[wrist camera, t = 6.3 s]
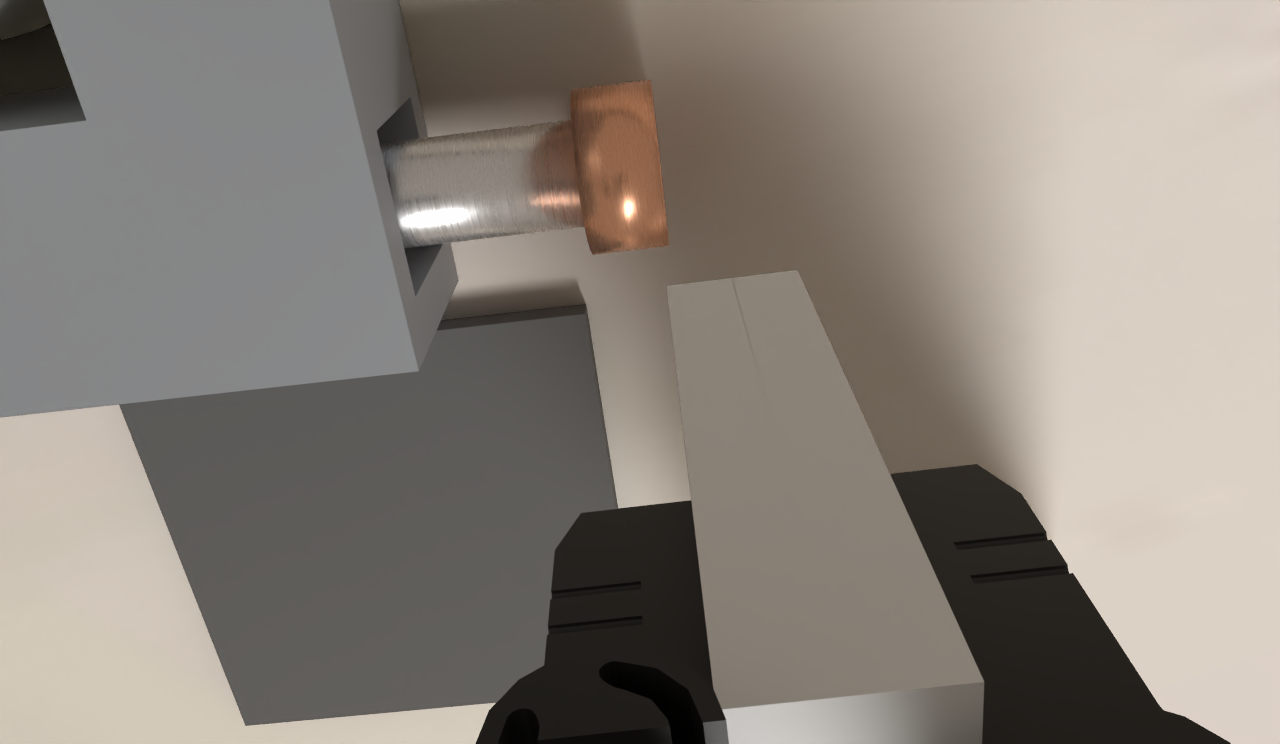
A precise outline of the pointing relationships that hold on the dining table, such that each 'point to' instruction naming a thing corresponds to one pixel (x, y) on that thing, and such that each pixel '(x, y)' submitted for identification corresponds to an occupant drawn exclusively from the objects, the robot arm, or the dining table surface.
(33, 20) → the cylinder
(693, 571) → the robot arm
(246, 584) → the mat
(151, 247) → the frame
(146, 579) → the dining table surface
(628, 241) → the plunger
